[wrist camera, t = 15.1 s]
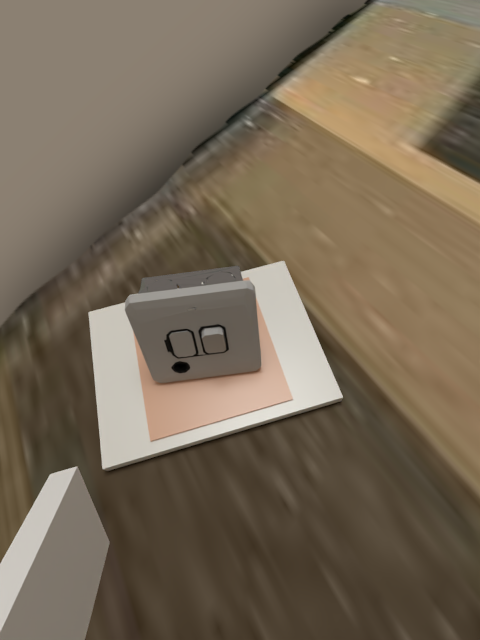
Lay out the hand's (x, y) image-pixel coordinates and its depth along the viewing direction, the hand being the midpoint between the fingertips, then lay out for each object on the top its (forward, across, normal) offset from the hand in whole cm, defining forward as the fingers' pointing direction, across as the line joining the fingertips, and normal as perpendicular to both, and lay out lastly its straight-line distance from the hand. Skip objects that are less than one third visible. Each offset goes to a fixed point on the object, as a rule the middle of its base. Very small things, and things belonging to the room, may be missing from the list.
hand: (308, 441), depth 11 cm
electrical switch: (+23, -4, -4) cm, 24 cm away
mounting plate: (+24, -4, -5) cm, 24 cm away
